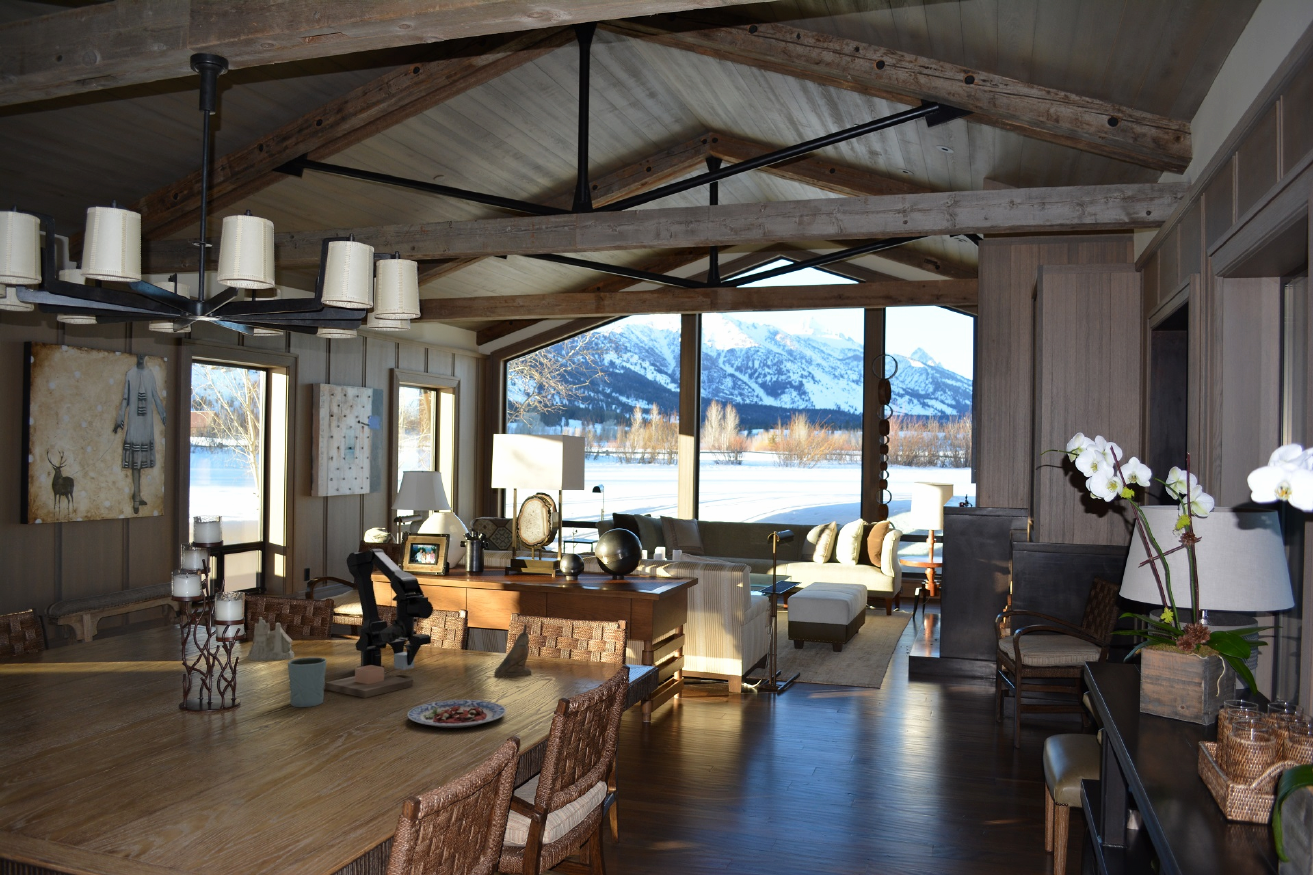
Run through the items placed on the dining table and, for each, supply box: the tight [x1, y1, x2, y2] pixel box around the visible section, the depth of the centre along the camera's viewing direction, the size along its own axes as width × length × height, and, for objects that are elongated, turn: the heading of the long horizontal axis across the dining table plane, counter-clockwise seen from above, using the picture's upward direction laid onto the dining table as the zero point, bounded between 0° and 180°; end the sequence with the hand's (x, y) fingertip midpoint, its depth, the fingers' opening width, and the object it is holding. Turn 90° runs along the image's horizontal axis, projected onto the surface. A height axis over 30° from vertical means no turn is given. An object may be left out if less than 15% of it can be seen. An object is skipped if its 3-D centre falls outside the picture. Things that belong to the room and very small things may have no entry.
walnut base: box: [324, 673, 414, 699], centre depth 281 cm, size 18×18×2 cm
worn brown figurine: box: [494, 623, 532, 678], centre depth 302 cm, size 12×6×18 cm, turn 106°
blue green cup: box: [287, 656, 327, 708], centre depth 262 cm, size 10×10×12 cm
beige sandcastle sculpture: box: [247, 616, 295, 662], centre depth 327 cm, size 16×16×15 cm
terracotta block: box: [354, 665, 385, 684], centre depth 281 cm, size 6×6×4 cm
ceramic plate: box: [407, 699, 507, 729], centre depth 247 cm, size 26×26×3 cm
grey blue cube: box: [393, 651, 415, 670], centre depth 299 cm, size 4×4×4 cm
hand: (404, 664), depth 299 cm, fingers closed on grey blue cube, 4 cm apart
